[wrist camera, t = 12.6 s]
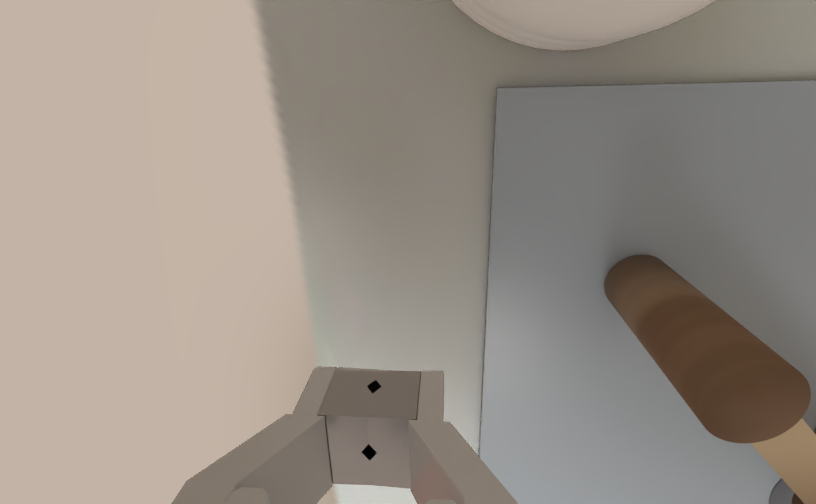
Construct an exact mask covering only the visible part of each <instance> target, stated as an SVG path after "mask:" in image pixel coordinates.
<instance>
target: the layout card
mask: <svg viewBox="0 0 816 504" xmlns="http://www.w3.org/2000/svg"><path fill="white" fill-rule="evenodd" d="M634 255H651V256H654V257H657V258H659V259H660V260H662V261H663V262H664V263H665V264H667V265H668V266H669V267H670V268H672V269H673V270H674V271H675V272H677V273H678V274H679V275H680V276H682V277H683V278H684V279H685V280H687V281H688V282H689V283H690V284H691V285H693V286H694V287H695V288H696V289H698V290H699V291H700V292H701V293H703V294H704V295H705V296H706V297H708V298H709V299H710V300H711V301H713V302H714V303H715V304H716V305H718V306H719V307H720V308H721V309H723V310H724V311H725V312H726V313H727V314H729V315H730V316H731V317H732V318H734V319H735V320H736V321H737V322H739V323H740V324H741V325H742V326H744V327H745V328H746V329H747V330H749V331H750V332H751V333H752V334H754V335H755V336H756V337H757V338H759V339H760V340H761V341H762V342H763V343H765V344H766V345H767V346H768V347H770V348H771V349H772V350H773V351H775V352H776V353H777V354H778V355H780V356H781V357H782V358H783V359H785V360H786V361H787V362H788V363H790V364H791V365H792V366H793V367H795V368H796V369H797V370H798V371H799V372H801V373H802V374H803V375H804V376H805V378H806V379H807V381H808V383H809V385H810V390H811V399H810V404H809V407H808V409H807V411H806V413H805V414H804V416H803V417H802V419H803V420H804V421H805V422H806V424H807V425H808V426H809V427H810V428H811V430H812V431H813V432H814V433H815V434H816V80H814V81H772V82H731V83H690V84H648V85H607V86H565V87H524V88H497V99H496V120H495V140H494V161H493V181H492V202H491V223H490V243H489V264H488V285H487V305H486V326H485V347H484V367H483V388H482V409H481V429H480V450H479V457H480V459H481V460H482V461H483V462H484V463H485V464H486V466H487V467H488V468H489V469H490V470H491V472H492V473H493V474H494V475H495V476H496V478H497V479H498V480H499V481H500V482H501V484H502V485H503V486H504V487H505V488H506V490H507V491H508V492H509V493H510V494H511V496H512V497H513V498H514V499H515V500H516V501H517V503H518V504H792V497H793V495H794V492H793V490H792V489H791V488H790V487H789V486H788V485H787V484H786V483H785V481H784V480H783V479H782V478H781V477H780V476H779V475H778V474H777V472H776V471H775V470H774V469H773V468H772V467H771V466H770V465H769V464H768V462H767V461H766V460H765V459H764V458H763V457H762V456H761V455H760V453H759V452H758V451H757V450H756V449H755V448H754V447H753V446H752V445H751V443H732V442H728V441H724V440H722V439H719V438H717V437H715V436H714V435H712V434H711V433H709V432H708V431H707V430H706V429H705V427H704V426H703V425H702V423H701V422H700V421H699V419H698V418H697V417H696V415H695V414H694V413H693V411H692V410H691V409H690V407H689V406H688V405H687V403H686V402H685V401H684V400H683V398H682V397H681V396H680V394H679V393H678V392H677V390H676V389H675V388H674V386H673V385H672V384H671V382H670V381H669V380H668V378H667V377H666V376H665V374H664V373H663V372H662V370H661V369H660V368H659V366H658V365H657V364H656V362H655V361H654V360H653V358H652V357H651V356H650V354H649V353H648V352H647V350H646V349H645V348H644V347H643V345H642V344H641V343H640V341H639V340H638V339H637V337H636V336H635V335H634V333H633V332H632V331H631V329H630V328H629V327H628V325H627V324H626V323H625V321H624V320H623V319H622V317H621V316H620V315H619V313H618V312H617V311H616V309H615V308H614V307H613V305H612V304H611V303H610V301H609V300H608V299H607V297H606V294H605V288H604V285H605V280H606V277H607V275H608V273H609V271H610V270H611V269H612V268H613V267H614V266H615V265H616V264H617V263H618V262H620V261H621V260H623V259H625V258H627V257H630V256H634Z"/></svg>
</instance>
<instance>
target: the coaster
mask: <svg viewBox="0 0 816 504" xmlns="http://www.w3.org/2000/svg"><path fill="white" fill-rule="evenodd" d="M452 1H453V2H454V4H455V5H456V6H457V7H458V8H459V9H460V10H462V11H463V12H464V13H465V14H466V15H468V16H469V17H470V18H471V19H473V20H474V21H475V22H476V23H478V24H479V25H481V26H483V27H484V28H486V29H488V30H489V31H491V32H492V33H494V34H496V35H498V36H501V37H503V38H505V39H508V40H510V41H512V42H515V43H519V44H522V45H526V46H530V47H534V48H540V49H549V50H582V49H588V48H594V47H599V46H604V45H608V44H611V43H614V42H618V41H621V40H624V39H627V38H631V37H635V36H638V35H641V34H644V33H647V32H651V31H654V30H657V29H660V28H663V27H666V26H668V25H670V24H672V23H675V22H677V21H679V20H681V19H683V18H686V17H688V16H690V15H692V14H694V13H696V12H698V11H699V10H701V9H703V8H704V7H706V6H708V5H709V4H711V3H713V2H714V1H716V0H452Z"/></svg>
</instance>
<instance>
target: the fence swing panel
mask: <svg viewBox="0 0 816 504" xmlns="http://www.w3.org/2000/svg"><path fill="white" fill-rule="evenodd" d="M604 288H605V294H606V297H607V299H608V300H609V301H610V303H611V304H612V305H613V307H614V308H615V309H616V311H617V312H618V313H619V315H620V316H621V317H622V319H623V320H624V321H625V323H626V324H627V325H628V327H629V328H630V329H631V331H632V332H633V333H634V335H635V336H636V337H637V339H638V340H639V341H640V343H641V344H642V345H643V347H644V348H645V349H646V350H647V352H648V353H649V354H650V356H651V357H652V358H653V360H654V361H655V362H656V364H657V365H658V366H659V368H660V369H661V370H662V372H663V373H664V374H665V376H666V377H667V378H668V380H669V381H670V382H671V384H672V385H673V386H674V388H675V389H676V390H677V392H678V393H679V394H680V396H681V397H682V398H683V400H684V401H685V402H686V403H687V405H688V406H689V407H690V409H691V410H692V411H693V413H694V414H695V415H696V417H697V418H698V419H699V421H700V422H701V423H702V425H703V426H704V427H705V429H706V430H707V431H708V432H709V433H711V434H712V435H714V436H715V437H717V438H719V439H722V440H724V441H728V442H732V443H751V445H752V446H753V447H754V448H755V449H756V450H757V451H758V452H759V453H760V455H761V456H762V457H763V458H764V459H765V460H766V461H767V462H768V464H769V465H770V466H771V467H772V468H773V469H774V470H775V471H776V472H777V474H778V475H779V476H780V477H781V478H782V479H783V480H784V481H785V483H786V484H787V485H788V486H789V487H790V488H791V489H792V490H793V492H794V493H795V494H796V495H797V496H798V497H799V498H800V499H801V500H802V502H803V503H804V504H816V434H815V433H814V432H813V431H812V430H811V428H810V427H809V426H808V425H807V424H806V422H805V421H804V420H803V419H802V417H803V416H804V414H805V413H806V411H807V409H808V407H809V404H810V399H811V390H810V385H809V383H808V381H807V379H806V378H805V376H804V375H803V374H802V373H801V372H799V371H798V370H797V369H796V368H795V367H793V366H792V365H791V364H790V363H788V362H787V361H786V360H785V359H783V358H782V357H781V356H780V355H778V354H777V353H776V352H775V351H773V350H772V349H771V348H770V347H768V346H767V345H766V344H765V343H763V342H762V341H761V340H760V339H759V338H757V337H756V336H755V335H754V334H752V333H751V332H750V331H749V330H747V329H746V328H745V327H744V326H742V325H741V324H740V323H739V322H737V321H736V320H735V319H734V318H732V317H731V316H730V315H729V314H727V313H726V312H725V311H724V310H723V309H721V308H720V307H719V306H718V305H716V304H715V303H714V302H713V301H711V300H710V299H709V298H708V297H706V296H705V295H704V294H703V293H701V292H700V291H699V290H698V289H696V288H695V287H694V286H693V285H691V284H690V283H689V282H688V281H687V280H685V279H684V278H683V277H682V276H680V275H679V274H678V273H677V272H675V271H674V270H673V269H672V268H670V267H669V266H668V265H667V264H665V263H664V262H663V261H662V260H660V259H659V258H657V257H654V256H651V255H634V256H630V257H627V258H625V259H623V260H621V261H620V262H618V263H617V264H616V265H615V266H614V267H613V268H612V269H611V270H610V271H609V273H608V275H607V277H606V280H605V285H604Z"/></svg>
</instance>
